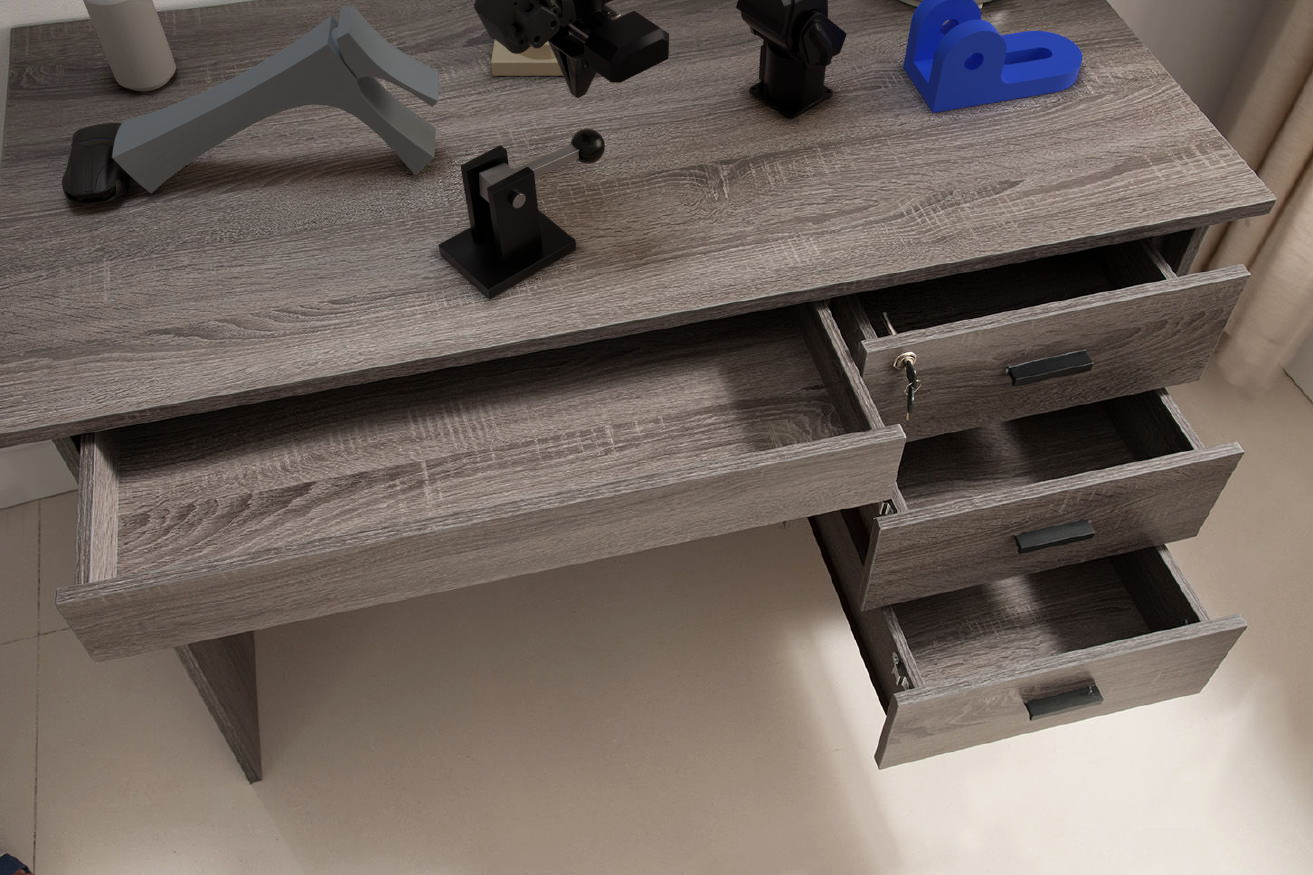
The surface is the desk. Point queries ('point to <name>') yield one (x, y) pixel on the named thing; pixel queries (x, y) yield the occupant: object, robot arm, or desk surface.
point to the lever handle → (550, 159)
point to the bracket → (982, 58)
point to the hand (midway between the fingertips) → (578, 95)
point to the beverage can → (133, 42)
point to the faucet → (291, 100)
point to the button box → (524, 62)
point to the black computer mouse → (94, 167)
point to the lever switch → (503, 229)
